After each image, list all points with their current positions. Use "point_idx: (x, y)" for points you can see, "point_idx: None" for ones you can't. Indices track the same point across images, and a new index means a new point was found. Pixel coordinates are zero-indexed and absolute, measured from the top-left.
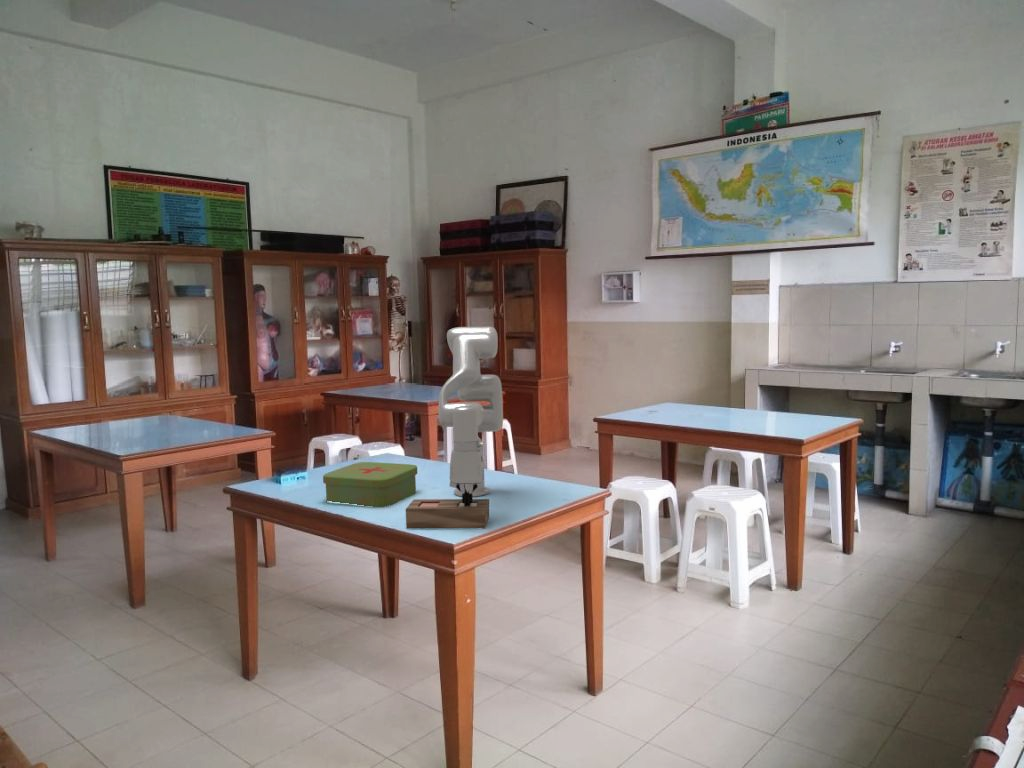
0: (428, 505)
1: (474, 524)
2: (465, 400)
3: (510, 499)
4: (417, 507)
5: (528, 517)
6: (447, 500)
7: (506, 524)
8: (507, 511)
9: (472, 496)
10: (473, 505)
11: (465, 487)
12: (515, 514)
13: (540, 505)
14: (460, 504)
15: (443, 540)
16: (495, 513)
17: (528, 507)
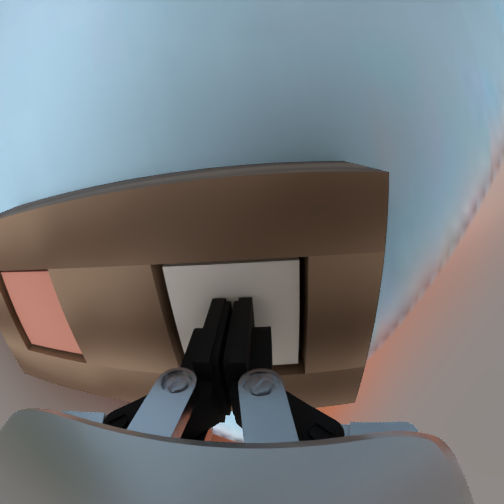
0: (37, 314)
1: None
2: None
3: None
4: (36, 362)
5: (492, 167)
6: (67, 239)
7: (419, 275)
8: (407, 47)
9: (271, 350)
10: (279, 324)
11: (186, 401)
12: (450, 107)
13: (487, 6)
14: (177, 302)
15: (214, 428)
16: (359, 73)
17: (464, 14)
